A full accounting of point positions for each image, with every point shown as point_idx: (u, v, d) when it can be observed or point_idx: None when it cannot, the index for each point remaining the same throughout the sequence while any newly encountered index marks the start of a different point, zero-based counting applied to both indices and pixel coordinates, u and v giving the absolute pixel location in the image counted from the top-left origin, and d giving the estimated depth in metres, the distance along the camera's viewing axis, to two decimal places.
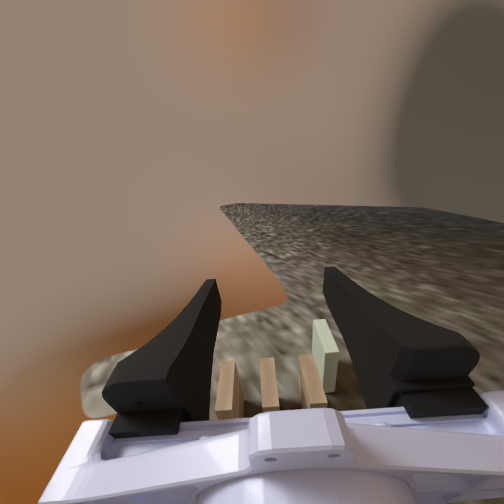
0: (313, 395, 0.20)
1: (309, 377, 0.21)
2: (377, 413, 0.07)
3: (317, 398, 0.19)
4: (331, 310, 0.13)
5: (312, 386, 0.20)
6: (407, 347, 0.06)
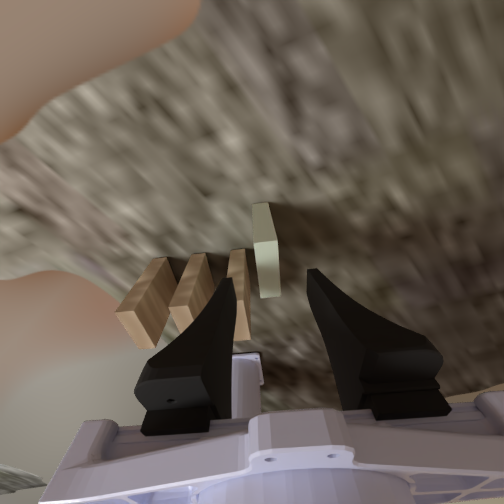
0: (237, 335, 0.19)
1: None
2: None
3: (241, 337, 0.19)
4: (313, 312, 0.13)
5: (237, 329, 0.18)
6: (371, 350, 0.06)
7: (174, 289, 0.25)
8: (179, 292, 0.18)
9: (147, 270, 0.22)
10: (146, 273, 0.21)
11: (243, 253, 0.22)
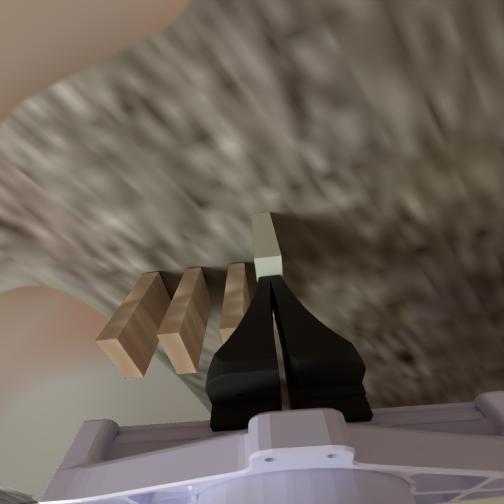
0: None
1: None
2: (377, 413, 0.07)
3: None
4: (274, 315, 0.13)
5: None
6: (292, 357, 0.06)
7: (167, 306, 0.23)
8: (170, 315, 0.16)
9: (136, 287, 0.20)
10: (135, 291, 0.19)
11: (242, 268, 0.20)
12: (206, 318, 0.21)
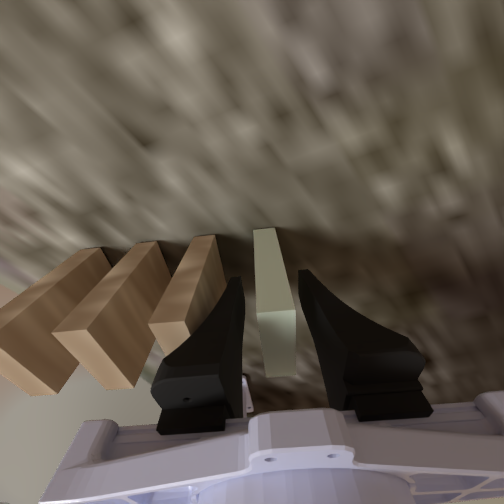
0: None
1: None
2: None
3: None
4: (304, 312, 0.13)
5: None
6: (352, 352, 0.06)
7: None
8: (86, 303, 0.10)
9: (61, 266, 0.14)
10: (56, 271, 0.14)
11: (210, 241, 0.15)
12: None
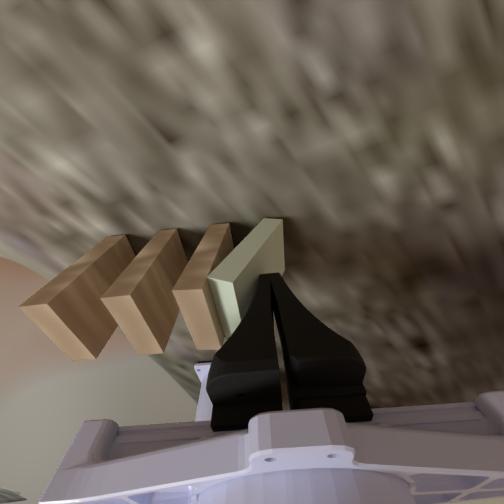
0: (201, 342, 0.13)
1: (196, 324, 0.12)
2: (377, 413, 0.07)
3: (207, 345, 0.13)
4: (274, 315, 0.13)
5: (200, 334, 0.12)
6: (293, 357, 0.06)
7: None
8: (124, 277, 0.12)
9: (93, 250, 0.16)
10: (90, 253, 0.15)
11: (225, 228, 0.16)
12: None
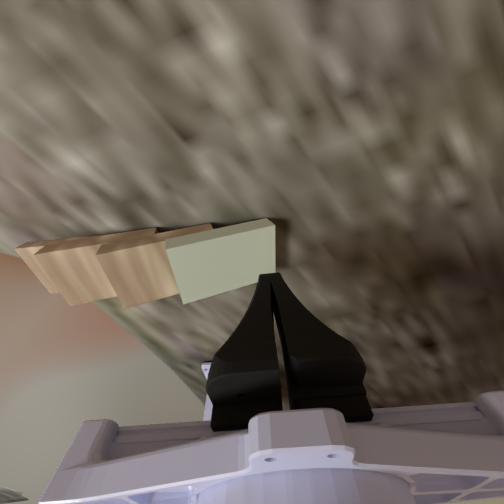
0: None
1: None
2: (377, 413, 0.07)
3: None
4: (274, 315, 0.13)
5: None
6: (293, 357, 0.06)
7: None
8: (68, 243, 0.16)
9: None
10: None
11: None
12: None
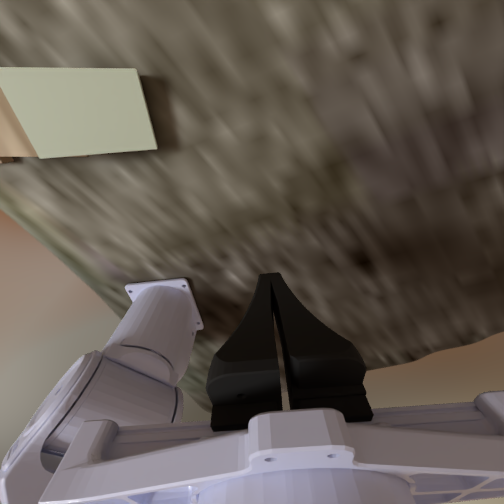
0: None
1: None
2: (377, 413, 0.07)
3: None
4: (274, 315, 0.13)
5: None
6: (293, 357, 0.06)
7: None
8: None
9: None
10: None
11: None
12: None
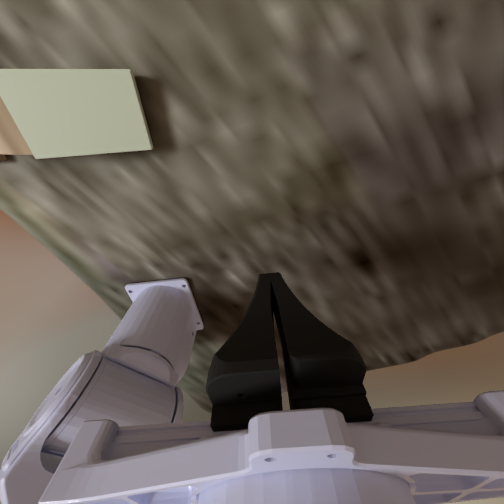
0: None
1: None
2: (377, 413, 0.07)
3: None
4: (274, 315, 0.13)
5: None
6: (293, 357, 0.06)
7: None
8: None
9: None
10: None
11: None
12: None
